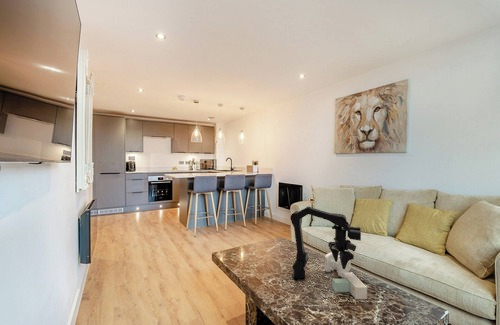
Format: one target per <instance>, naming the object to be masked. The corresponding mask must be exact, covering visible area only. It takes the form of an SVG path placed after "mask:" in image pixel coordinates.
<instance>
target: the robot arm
mask: <svg viewBox="0 0 500 325" xmlns="http://www.w3.org/2000/svg"><path fill="white" fill-rule="evenodd" d="M308 215H310V216H313V217H316V218H319V219H322V220H325V221H329V222H330V223H332V224H333V225H332V226H331V229H332V230H334V234H335V236H334V237H333V241H329V242H328V243H327V244H328V245H327V247H329V250H330V252H331V253H332V255H333V257H334V260H335V262H337V260H338V253H339V256H340V257H339V258H340V261H341V265H342V268H343V269H345V268H346V265H347V263H348V261H349V260H351V261H352V260H355V258H354V257H355V255H354V254H353V252H356V249H357V245H355V244H353V243H352V242H351V240H354V241H361V240H362V239H361V237H362V234H361V231H362V230H361V227H359V226H358V227H356V226H355V227H354V226H351V225H350V223H349V222H348V220H347V217H346V215H345V214H342V213H332V212H328V211H324V210H320V209H319V208H314V207H311V206H306V207H304V208H303V209H301V210H298V211H297V210H296V211H294V212H293V213H291V214H290V218H289V219H290V222H291V225H292V227H293V229H294V237H295V238H294V239H295V245H296V258H295V260H294V262H293V264H292V279H293V280H294V281H306V270H305V267H306V265H307V263H308V262H309V260H310V258H309V252H307V251H305V245H304V238H303V230H302V223H303V218H304V217H306V216H308ZM347 238H349V239H347Z"/></svg>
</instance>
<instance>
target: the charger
mask: <svg viewBox="0 0 500 325" xmlns="http://www.w3.org/2000/svg"><path fill="white" fill-rule="evenodd" d="M331 281H332V282H331V283H332V284H331V285H332V287H331V288H332V289H333V290H334V292H335V293H350V282H349V281H348V280H347V279H342V278H332V279H331Z"/></svg>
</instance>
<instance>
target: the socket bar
mask: <svg viewBox="0 0 500 325" xmlns="http://www.w3.org/2000/svg"><path fill="white" fill-rule="evenodd" d="M341 279H347V280H348V281H349V282H350V292H349V293H350V294H351V295H352V296H353V298H354V299H355V300H367V299H368V286H366V285H365V284H364V283H363V282H362V281H361V279H359V278H358V277H357V275H355V274H354V272H350V271H349V272H342V277H341Z"/></svg>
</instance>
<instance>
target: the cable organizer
mask: <svg viewBox="0 0 500 325" xmlns="http://www.w3.org/2000/svg"><path fill="white" fill-rule="evenodd" d="M339 253H340V252H339ZM339 253H338V260H337V262H335V260H334V257H333V255H332V253H331V251H330V252H328V253H326V254H325V256H324V271H325V272H326V273H330V272H331V271H332V272H334V270H335V271H336V273H337V275H338V276H339V277H341V278H342V272H350V271H351V267H352V266H351V264H352V263H351V262H352V260H349V261H348V263H347V265H346V268H345V269H343V268H342V265H341V261H340V258H339V257H340V255H339Z"/></svg>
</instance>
